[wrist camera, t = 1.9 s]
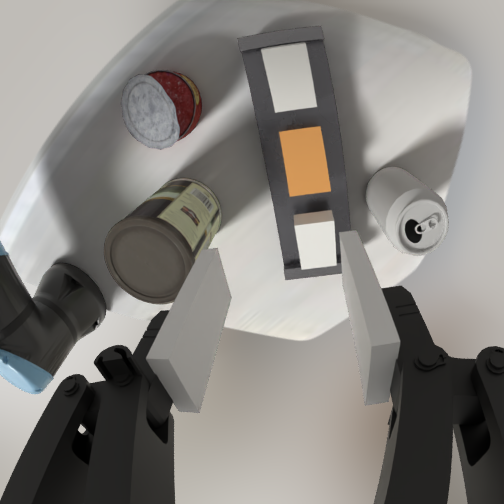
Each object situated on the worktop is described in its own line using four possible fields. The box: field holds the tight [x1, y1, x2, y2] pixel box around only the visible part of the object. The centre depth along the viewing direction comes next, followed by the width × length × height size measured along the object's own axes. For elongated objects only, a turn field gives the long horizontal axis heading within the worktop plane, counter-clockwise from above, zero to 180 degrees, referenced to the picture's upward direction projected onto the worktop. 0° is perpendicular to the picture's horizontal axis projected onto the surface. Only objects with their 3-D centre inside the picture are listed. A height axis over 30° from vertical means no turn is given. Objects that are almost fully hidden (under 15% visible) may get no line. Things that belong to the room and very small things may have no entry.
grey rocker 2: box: [261, 42, 317, 113], centre depth 28 cm, size 7×4×2 cm, turn 12°
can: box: [366, 167, 449, 256], centre depth 32 cm, size 8×8×12 cm
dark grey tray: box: [237, 26, 350, 280], centre depth 34 cm, size 30×9×5 cm, turn 12°
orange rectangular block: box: [279, 126, 331, 197], centre depth 32 cm, size 7×4×2 cm, turn 12°
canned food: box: [121, 70, 202, 150], centre depth 33 cm, size 11×10×10 cm
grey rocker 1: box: [294, 210, 337, 270], centre depth 36 cm, size 7×4×2 cm, turn 12°
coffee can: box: [104, 178, 221, 304], centre depth 36 cm, size 10×10×14 cm
